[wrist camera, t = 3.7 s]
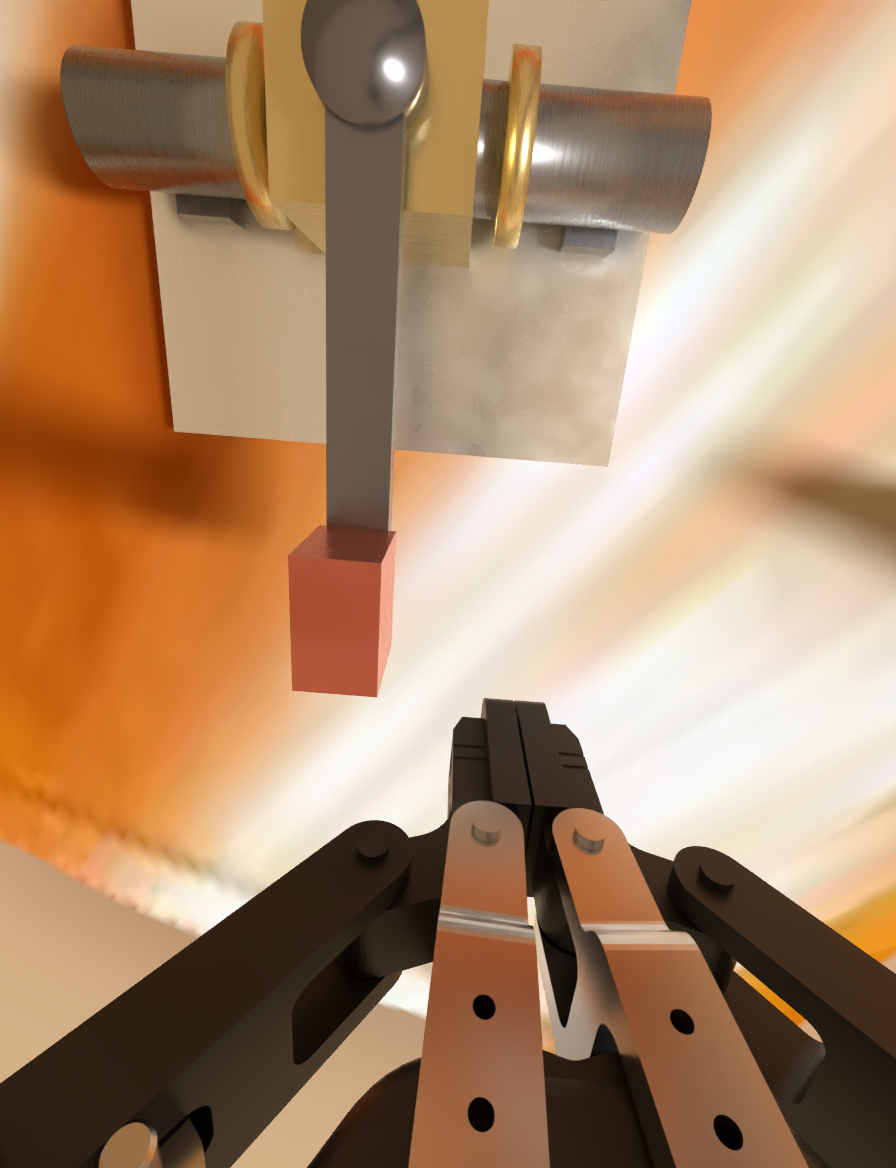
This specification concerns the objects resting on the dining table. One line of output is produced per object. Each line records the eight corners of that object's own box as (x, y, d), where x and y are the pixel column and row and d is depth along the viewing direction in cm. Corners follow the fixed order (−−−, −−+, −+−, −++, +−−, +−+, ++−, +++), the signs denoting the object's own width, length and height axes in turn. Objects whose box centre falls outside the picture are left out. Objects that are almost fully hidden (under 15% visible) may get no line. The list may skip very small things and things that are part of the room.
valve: (699, -88, 22) (858, -409, 13) (602, 463, 30) (661, 495, 21) (131, -136, 22) (-93, -491, 13) (184, 429, 30) (67, 447, 21)
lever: (314, -7, 16) (251, -174, 11) (432, 3, 16) (419, -160, 11) (320, 628, 23) (283, 689, 19) (400, 634, 23) (385, 697, 19)
